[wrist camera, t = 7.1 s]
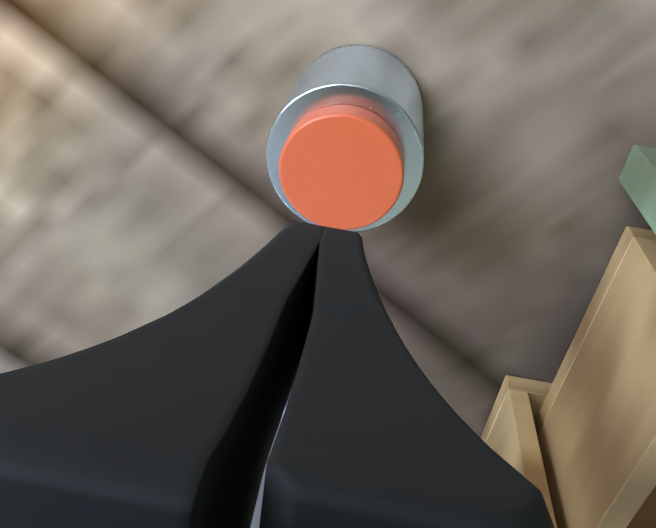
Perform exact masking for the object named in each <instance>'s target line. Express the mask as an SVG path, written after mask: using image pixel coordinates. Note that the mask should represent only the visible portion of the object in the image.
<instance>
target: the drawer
mask: <svg viewBox="0 0 656 528" xmlns="http://www.w3.org/2000/svg"><path fill="white" fill-rule="evenodd" d="M618 180H619V182H620V183H621V185H622V186H623V188H624V189H625V191H626V192H627V194H628V195H629V197H630V198H631V200H632V201H633V202H634V204H635V205H636V207H637V208H638V210H639V211H640V213H641V214H642V216H643V217H644V219H645V220H646V222H647V223H648V224H649V226H650V227H651V229H652V230H653V231H652V230H646V229H641V228H635V227H629V226H627V227H626V228H625V230H624V232H623V234H622V236H621V238H620V240H619V242H618V245H617V247H616V249H615V251H614V253H613V255H612V257H611V259H610V262H609V264H608V266H607V268H606V270H605V272H604V274H603V277H602V279H601V281H600V283H599V285H598V287H597V289H596V291H595V294H594V296H593V298H592V300H591V302H590V304H589V306H588V308H587V311H586V313H585V315H584V317H583V319H582V321H581V323H580V325H579V328H578V330H577V332H576V334H575V336H574V338H573V340H572V342H571V345H570V347H569V349H568V351H567V353H566V355H565V357H564V359H563V362H562V364H561V366H560V368H559V370H558V372H557V374H556V377H555V379H554V381H553V383H552V385H551V387H550V389H549V391H548V394H547V396H546V398H545V400H544V402H543V404H542V406H541V408H540V411H539V413H538V415H537V417H536V419H535V421H534V423H535V428H536V433H537V437H538V442H539V446H540V451H541V456H542V460H543V465H544V469H545V474H546V479H547V483H548V488H549V492H550V497H551V501H552V506H553V511H554V515H555V520H556V524H557V528H656V148H653V147H647V146H641V145H633V147H632V149H631V151H630V153H629V156H628V158H627V160H626V162H625V165H624V167H623V169H622V172H621V174H620V176H619V178H618Z"/></svg>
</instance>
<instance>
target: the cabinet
mask: <svg viewBox="0 0 656 528" xmlns="http://www.w3.org/2000/svg"><path fill="white" fill-rule="evenodd" d="M551 385H552V383H548V382H542V381H537V380H531V379H526V378H521V377H515V376H510V375H506V376H505V378H504V381H503V383H502V386H501V388H500V391H499V393H498V396H497V398H496V401H495V403H494V405H493V408H492V410H491V413H490V415H489V418H488V420H487V423H486V425H485V428H484V430H483V433H482V435H481V437H480V438H481V439H482V440H483V441H484V442H485V443H486V444H487V445H488V446H489V447H490V448H491V449H493V450H494V451H495V452H496V453H497V454H498V455H500V456H501V457H502V458H503V459H504V460H505V461H507V462H508V463H509V464H510V465H511V466H512V467H514V468H515V469H516V470H517V471H518V472H519V473H521V474H522V475H523V476H524V477H525V478H526V479H528V480H529V481H530V482H531V483H532V484H533V485H535V486H536V487H537V488H538V489H539V490H540V491H541V492H542V494H543V497H544V500H545V503H546V505H547V508H548V511H549V513H550V516H551V519H552V522H553V525H554V527H555V528H557V524H556V520H555V515H554V511H553V506H552V501H551V497H550V492H549V488H548V483H547V479H546V474H545V469H544V465H543V460H542V456H541V451H540V446H539V442H538V437H537V433H536V428H535V423H534V421H535V419H536V417H537V415H538V413H539V411H540V408H541V406H542V404H543V402H544V400H545V398H546V396H547V394H548V391H549V389H550V387H551Z"/></svg>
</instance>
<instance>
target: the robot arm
mask: <svg viewBox="0 0 656 528" xmlns="http://www.w3.org/2000/svg"><path fill="white" fill-rule="evenodd" d="M288 398H289V399H288ZM0 528H555V527H554V525H553V522H552V519H551V516H550V513H549V511H548V508H547V505H546V503H545V500H544V497H543V494H542V492H541V491H540V490H539V489H538V488H537V487H536V486H535V485H533V484H532V483H531V482H530V481H529V480H528V479H526V478H525V477H524V476H523V475H522V474H521V473H519V472H518V471H517V470H516V469H515V468H514V467H512V466H511V465H510V464H509V463H508V462H507V461H505V460H504V459H503V458H502V457H501V456H500V455H498V454H497V453H496V452H495V451H494V450H493V449H491V448H490V447H489V446H488V445H487V444H486V443H485V442H484V441H483V440H482V439H481V438H480V437H479V436H478V435H477V434H476V433H475V432H474V431H473V430H472V429H471V428H470V427H469V426H468V425H467V424H466V423H465V422H464V421H463V420H462V419H461V418H460V417H459V416H458V415H457V414H456V412H455V411H454V410H453V409H452V408H451V407H450V406H449V404H448V403H447V402H446V401H445V400H444V398H443V397H442V396H441V395H440V394H439V393H438V391H437V390H436V389H435V388H434V387H433V385H432V384H431V383H430V382H429V380H428V379H427V378H426V376H425V375H424V373H423V372H422V371H421V369H420V368H419V367H418V365H417V364H416V362H415V361H414V359H413V358H412V356H411V354H410V353H409V351H408V350H407V348H406V347H405V345H404V343H403V342H402V340H401V338H400V337H399V335H398V333H397V331H396V329H395V328H394V326H393V324H392V322H391V320H390V318H389V316H388V314H387V312H386V310H385V308H384V306H383V303H382V301H381V299H380V296H379V294H378V292H377V289H376V287H375V284H374V282H373V279H372V276H371V274H370V271H369V267H368V264H367V261H366V257H365V253H364V249H363V242H362V237H361V236H360V235H359V233H358V232H354V231H348V230H343V229H337V228H331V227H326V226H320V225H315V224H309V223H304V222H298V221H292V222H291V223H289V224H288V225H286V226H285V228H284V229H283V230H282V231H281V232H279V233H278V234H277V235H276V236H275V237H274V238H273V239H272V240H271V241H270V242H269V243H268V244H267V245H266V246H265V247H263V248H262V249H261V250H260V251H259V252H258V253H257V254H255V255H254V256H253V257H252V258H250V259H249V260H248V261H247V262H246V263H244V264H243V265H242V266H241V267H240V268H238V269H237V270H236V271H234V272H233V273H232V274H230V275H229V276H228V277H226V278H225V279H223V280H222V281H221V282H219V283H218V284H216V285H215V286H214V287H212V288H211V289H209V290H208V291H206V292H205V293H203V294H202V295H200V296H199V297H197V298H196V299H194V300H192V301H191V302H189V303H187V304H186V305H184V306H182V307H180V308H179V309H177V310H175V311H173V312H172V313H170V314H168V315H166V316H164V317H162V318H159V319H157V320H155V321H153V322H151V323H148V324H146V325H144V326H142V327H139V328H137V329H135V330H133V331H131V332H128V333H126V334H124V335H122V336H119V337H117V338H114V339H112V340H109V341H107V342H104V343H101V344H99V345H96V346H93V347H90V348H88V349H85V350H82V351H79V352H76V353H73V354H70V355H67V356H64V357H61V358H57V359H54V360H51V361H47V362H44V363H41V364H37V365H33V366H29V367H25V368H21V369H18V370H14V371H10V372H6V373H2V374H0Z"/></svg>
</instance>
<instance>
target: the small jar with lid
mask: <svg viewBox="0 0 656 528" xmlns="http://www.w3.org/2000/svg"><path fill="white" fill-rule="evenodd" d="M266 163H267V170H268V173H269V177H270V180H271V182H272V185H273V187H274V189H275V190H276V192H277V194H278V196H279V197H280V198H281V200H282V201H283V202H284V203H285V204H286V206H287V207H288V208H289V209H290V210H291V211H293V212H294V213H295V214H296V215H297V216H299V217H300V218H302V219H303V220H305V221H307V222H309V223H311V224H315V225H320V226H326V227H331V228H337V229H343V230H348V231H354V232H358V231H364V230H368V229H372V228H375V227H378V226H380V225H382V224H384V223H386V222H388V221H390V220H391V219H393V218H394V217H396V216H397V215H398V214H399V213H400V212H401V211H403V210H404V209H405V208H406V206H407V205H408V204H409V203H410V202H411V200H412V199H413V197H414V195H415V194H416V192H417V190H418V188H419V185H420V182H421V179H422V175H423V169H424V132H423V104H422V97H421V93H420V90H419V87H418V85H417V82H416V81H415V79H414V77H413V75H412V74H411V73H410V71H409V70H408V69H407V67H406V66H405V65H404V64H403V63H402V62H401V61H399V60H398V59H397V58H395V57H394V56H392V55H391V54H389V53H387V52H385V51H383V50H380V49H378V48H374V47H370V46H362V45H350V46H344V47H339V48H336V49H333V50H331V51H329V52H327V53H325V54H323V55H322V56H320V57H319V58H317V59H316V60H315V61H314V62H313V63H311V64H310V66H309V67H308V68H307V69H306V70H305V72H304V73H303V75H302V76H301V78H300V79H299V81H298V83H297V84H296V86H295V88H294V89H293V91H292V93H291V94H290V96H289V98H288V99H287V101H286V103H285V104H284V106H283V108H282V109H281V111H280V113H279V114H278V116H277V118H276V119H275V121H274V123H273V125H272V127H271V130H270V133H269V136H268V139H267V146H266Z"/></svg>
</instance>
